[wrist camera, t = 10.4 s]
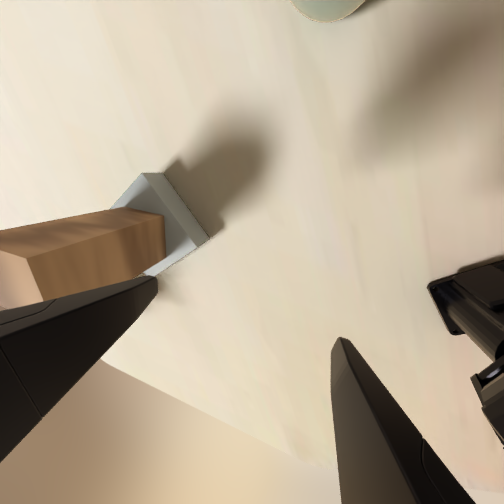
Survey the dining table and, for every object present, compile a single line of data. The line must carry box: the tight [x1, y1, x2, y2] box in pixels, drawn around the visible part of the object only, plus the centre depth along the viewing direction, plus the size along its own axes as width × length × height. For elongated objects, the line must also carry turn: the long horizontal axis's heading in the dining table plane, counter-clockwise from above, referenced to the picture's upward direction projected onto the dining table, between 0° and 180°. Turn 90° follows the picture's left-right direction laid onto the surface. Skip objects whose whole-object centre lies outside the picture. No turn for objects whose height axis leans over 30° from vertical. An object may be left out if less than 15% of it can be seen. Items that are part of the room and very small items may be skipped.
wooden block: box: [0, 207, 167, 309], centre depth 16 cm, size 5×5×11 cm
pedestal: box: [110, 173, 210, 276], centre depth 23 cm, size 9×9×3 cm
